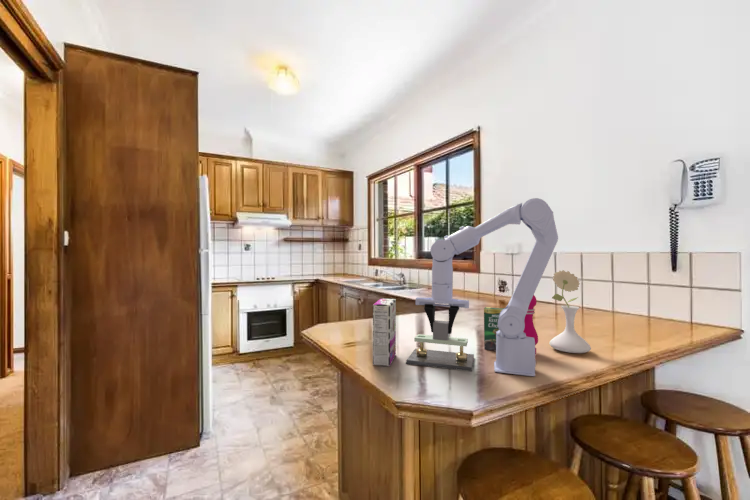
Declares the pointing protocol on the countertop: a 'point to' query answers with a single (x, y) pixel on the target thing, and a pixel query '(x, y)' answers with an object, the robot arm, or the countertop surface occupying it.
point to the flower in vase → (568, 317)
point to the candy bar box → (384, 332)
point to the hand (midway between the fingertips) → (441, 332)
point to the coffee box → (491, 327)
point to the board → (450, 342)
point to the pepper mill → (531, 322)
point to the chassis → (441, 359)
